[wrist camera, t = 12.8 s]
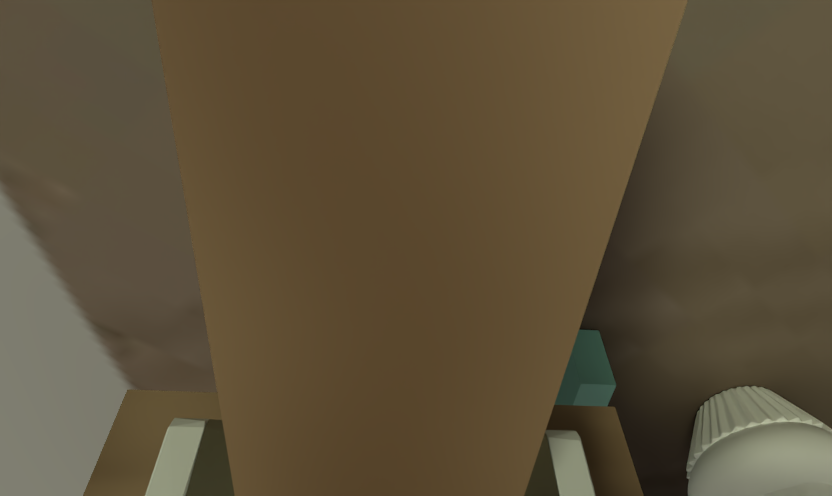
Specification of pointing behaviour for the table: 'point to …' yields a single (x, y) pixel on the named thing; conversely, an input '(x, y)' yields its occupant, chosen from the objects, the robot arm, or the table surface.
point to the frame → (587, 373)
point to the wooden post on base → (397, 235)
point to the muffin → (758, 447)
